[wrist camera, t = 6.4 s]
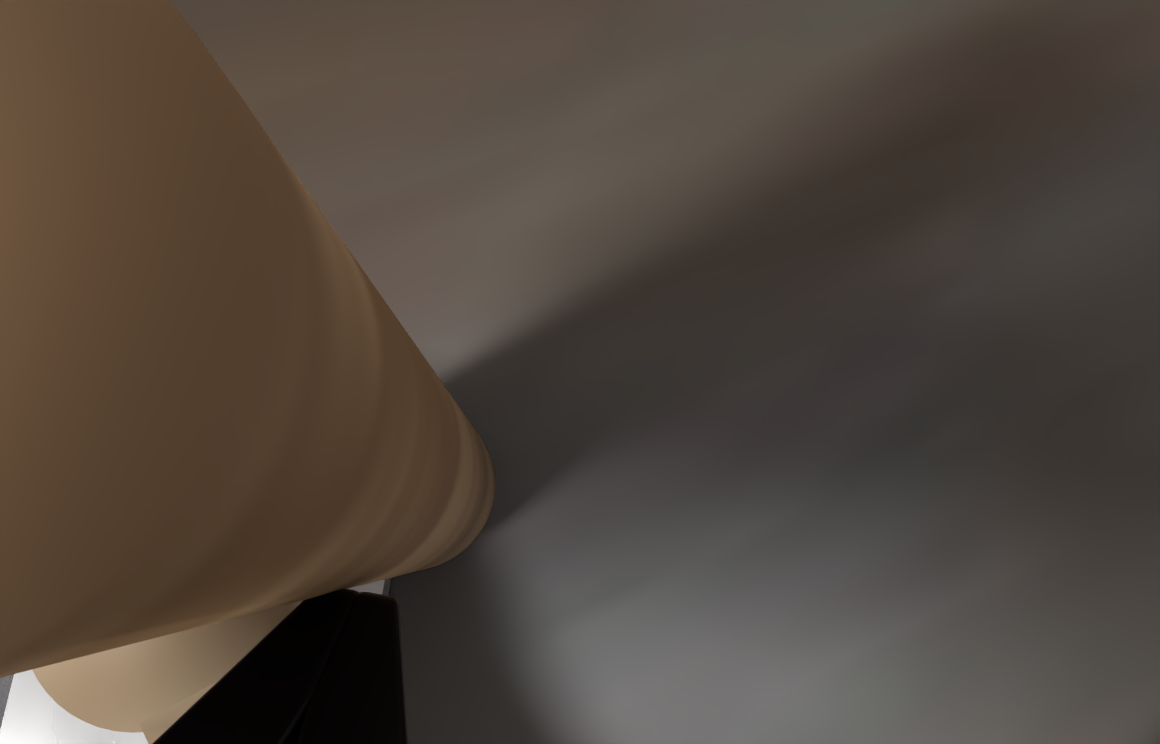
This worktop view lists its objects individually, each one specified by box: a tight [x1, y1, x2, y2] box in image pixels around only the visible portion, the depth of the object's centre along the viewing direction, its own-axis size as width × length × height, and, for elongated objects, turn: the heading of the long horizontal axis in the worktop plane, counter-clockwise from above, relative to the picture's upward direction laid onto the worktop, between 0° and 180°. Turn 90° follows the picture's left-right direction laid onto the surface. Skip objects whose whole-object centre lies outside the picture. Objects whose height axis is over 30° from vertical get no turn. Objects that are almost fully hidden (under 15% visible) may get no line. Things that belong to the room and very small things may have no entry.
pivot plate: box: [0, 578, 391, 744], centre depth 17 cm, size 6×6×1 cm
